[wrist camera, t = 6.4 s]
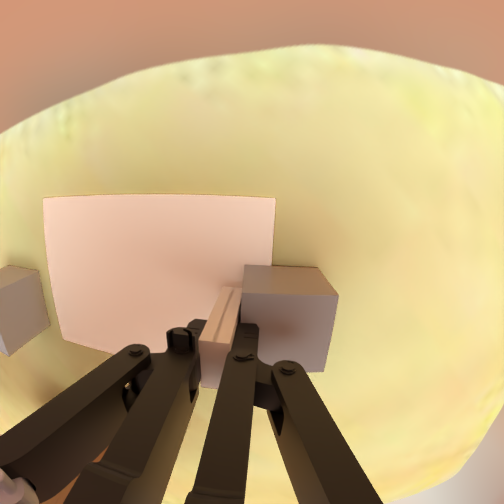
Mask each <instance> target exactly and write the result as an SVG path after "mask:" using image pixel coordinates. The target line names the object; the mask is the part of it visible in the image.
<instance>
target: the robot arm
mask: <svg viewBox="0 0 504 504" xmlns="http://www.w3.org/2000/svg"><path fill="white" fill-rule="evenodd" d="M241 297H242V288H235V287H223V288H222V290H221V292H220V294H219V296H218V298H217V301H216V303H215V305H214V307H213V309H212V311H211V314H210V316H209V318H208V320H203V319H194V320H192V321H191V322H189V323H188V325H187V327H186V328H185V327H176V328H172V329H170V330H168V331H167V332H166V337H167V347H168V348H167V350H166V351H165V352H162V353H150V349H149V348H148V347H147V346H145V345H143V344H131V345H128V346H126V347H124V348H123V349H122V350H120V351H119V352H118V353H116V354H115V355H113V356H112V357H111V358H109V359H108V360H106V361H105V362H104V363H102V364H101V365H99V366H98V367H97V368H95V369H94V370H92V371H91V372H90V373H88V374H87V375H85V376H84V377H83V378H81V379H80V380H79V381H77V382H76V383H74V384H73V385H72V386H70V387H69V388H67V389H66V390H65V391H63V392H62V393H60V394H59V395H58V396H56V397H55V398H53V399H52V400H51V401H49V402H48V403H46V404H45V405H44V406H42V407H41V408H39V409H38V410H37V411H35V412H34V413H32V414H31V415H30V416H28V417H27V418H25V419H24V420H22V421H21V422H20V423H18V424H17V425H15V426H14V427H13V428H11V429H10V430H8V431H7V432H6V433H4V434H3V435H1V436H0V504H40V503H43V502H45V501H47V500H49V499H51V498H52V497H54V496H56V495H57V494H58V493H59V492H61V491H62V490H63V489H64V488H65V487H66V486H67V485H68V484H69V483H71V482H72V481H73V480H74V479H75V478H76V477H77V476H78V475H79V474H80V475H79V476H78V478H77V480H76V482H75V483H74V485H73V487H72V488H71V490H70V492H69V494H68V495H67V497H66V499H65V500H64V502H63V504H161V502H162V500H163V497H164V494H165V491H166V488H167V485H168V482H169V479H170V476H171V473H172V470H173V467H174V464H175V461H176V458H177V456H178V453H179V450H180V447H181V444H182V441H183V438H184V435H185V432H186V429H187V426H188V424H189V421H190V418H191V415H192V412H193V409H194V406H195V403H196V400H197V398H198V395H199V387H198V385H199V382H200V380H201V387H205V388H213V389H218V392H217V396H216V400H215V404H214V408H213V412H212V415H211V419H210V423H209V427H208V431H207V435H206V439H205V443H204V447H203V451H202V455H201V459H200V463H199V467H198V471H197V475H196V479H195V483H194V486H193V489H192V491H191V492H189V493H188V495H187V497H186V500H185V503H184V504H244V500H245V490H246V480H247V470H248V460H249V449H250V438H251V427H252V416H253V405H254V406H257V407H260V408H263V409H267V414H268V417H269V420H270V423H271V426H272V429H273V432H274V435H275V438H276V441H277V444H278V447H279V450H280V453H281V455H282V458H283V461H284V464H285V467H286V470H287V472H288V475H289V478H290V481H291V483H292V486H293V489H294V491H295V494H296V497H297V499H298V502H299V504H383V502H382V501H381V499H380V498H379V496H378V494H377V493H376V491H375V489H374V488H373V486H372V484H371V483H370V481H369V479H368V478H367V476H366V474H365V473H364V471H363V469H362V468H361V466H360V464H359V463H358V461H357V459H356V458H355V456H354V454H353V452H352V451H351V449H350V447H349V446H348V444H347V442H346V441H345V439H344V437H343V435H342V434H341V432H340V430H339V429H338V427H337V425H336V424H335V422H334V420H333V418H332V417H331V415H330V413H329V412H328V410H327V408H326V406H325V405H324V403H323V401H322V399H321V398H320V396H319V394H318V393H317V391H316V389H315V387H314V386H313V384H312V382H311V380H310V379H309V377H308V375H307V373H306V372H305V370H304V368H303V367H302V366H301V365H300V364H299V363H297V362H295V361H291V360H282V361H278V362H276V363H275V364H274V365H273V366H271V365H268V364H265V363H263V362H262V361H261V360H259V358H258V356H257V354H258V340H259V327H258V326H257V324H254V323H241ZM128 382H129V386H128V387H126V388H125V385H126V384H127V383H128ZM107 447H108V448H107ZM106 448H107V450H106V452H105V453H104V455H103V457H102V459H101V460H100V461H99V462H93V461H94V460H95V459H96V458H97V457H98V456H99V455H100V454H101V453H102V452H103V451H104V450H105V449H106Z"/></svg>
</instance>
